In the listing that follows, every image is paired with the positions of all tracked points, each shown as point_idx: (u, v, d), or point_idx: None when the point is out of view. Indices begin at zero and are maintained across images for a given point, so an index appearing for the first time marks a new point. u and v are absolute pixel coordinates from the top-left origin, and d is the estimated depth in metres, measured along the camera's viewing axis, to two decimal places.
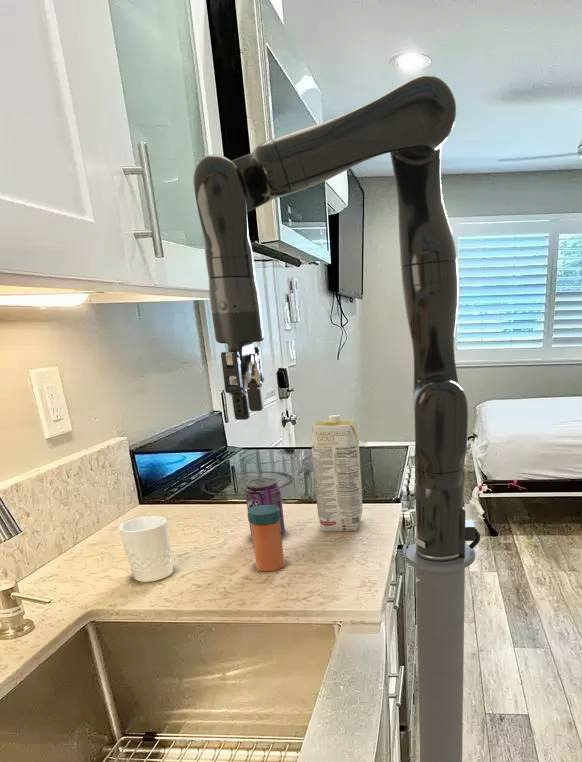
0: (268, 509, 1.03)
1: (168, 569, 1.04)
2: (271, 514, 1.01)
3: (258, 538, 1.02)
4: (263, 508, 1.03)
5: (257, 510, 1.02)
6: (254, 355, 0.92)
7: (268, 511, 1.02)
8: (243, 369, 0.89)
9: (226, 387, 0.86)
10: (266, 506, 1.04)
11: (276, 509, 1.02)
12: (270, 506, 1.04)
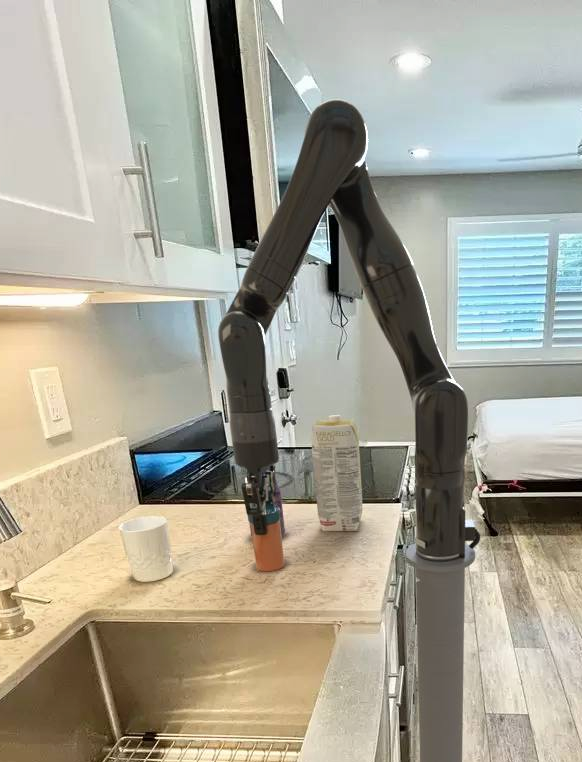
0: (268, 509, 1.03)
1: (168, 569, 1.04)
2: (271, 514, 1.01)
3: (258, 538, 1.02)
4: None
5: None
6: (270, 472, 1.01)
7: (268, 511, 1.02)
8: (260, 489, 0.98)
9: (247, 512, 0.97)
10: (266, 506, 1.04)
11: (276, 509, 1.02)
12: (270, 506, 1.04)
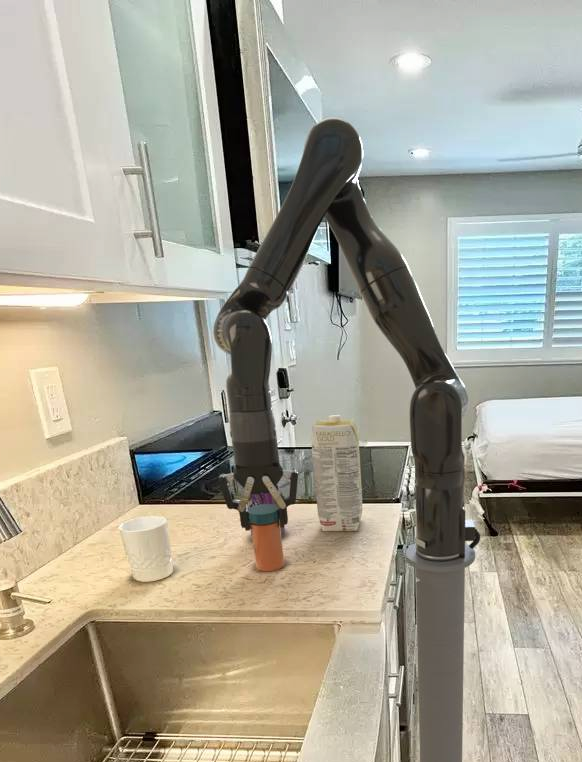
0: (263, 507, 1.03)
1: (168, 569, 1.04)
2: None
3: (258, 538, 1.02)
4: (259, 509, 1.02)
5: (265, 510, 1.01)
6: None
7: (270, 506, 1.03)
8: None
9: (295, 499, 1.01)
10: (253, 509, 1.02)
11: (264, 504, 1.04)
12: (254, 508, 1.03)
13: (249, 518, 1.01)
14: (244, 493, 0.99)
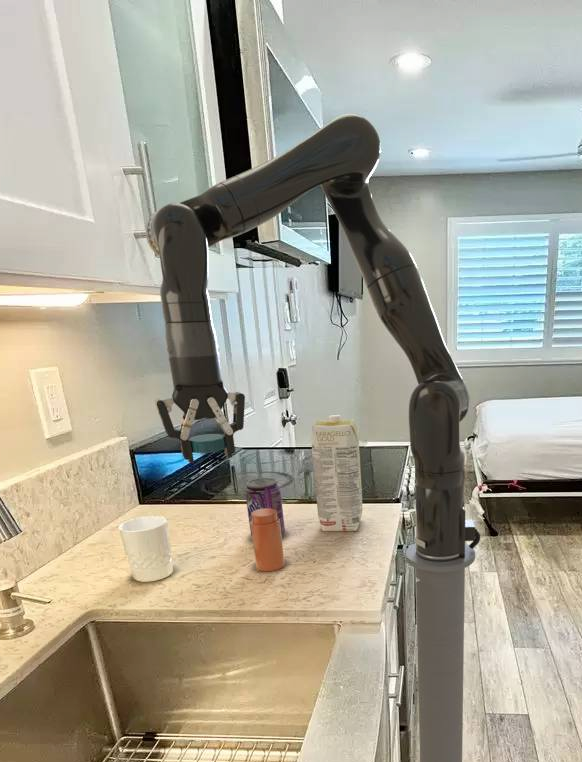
0: (205, 436, 0.95)
1: (168, 569, 1.04)
2: None
3: (258, 538, 1.02)
4: (203, 438, 0.93)
5: (210, 438, 0.93)
6: None
7: (212, 435, 0.95)
8: None
9: None
10: (195, 438, 0.93)
11: (204, 434, 0.96)
12: (195, 437, 0.94)
13: (194, 447, 0.92)
14: (188, 418, 0.90)
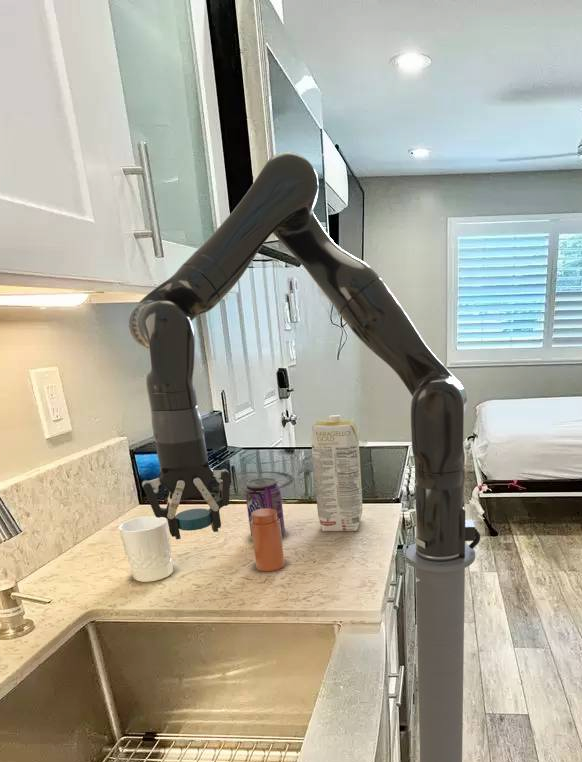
0: (192, 512, 0.97)
1: (168, 569, 1.04)
2: None
3: (258, 538, 1.02)
4: (189, 515, 0.96)
5: (197, 515, 0.95)
6: None
7: (198, 510, 0.98)
8: None
9: (228, 500, 0.97)
10: (182, 515, 0.95)
11: (191, 509, 0.98)
12: (182, 514, 0.96)
13: (180, 525, 0.94)
14: (174, 498, 0.92)
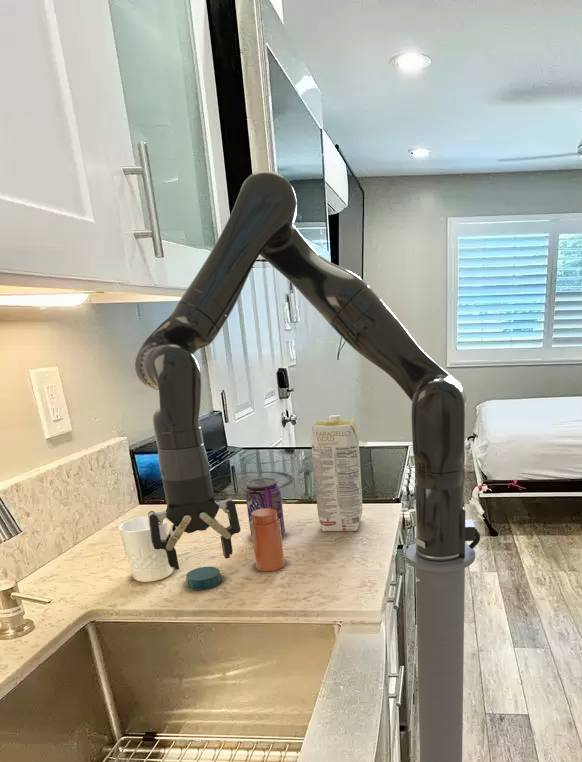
0: (202, 571, 1.01)
1: (168, 569, 1.04)
2: None
3: (258, 538, 1.02)
4: (199, 574, 1.00)
5: (206, 574, 0.99)
6: None
7: (208, 569, 1.01)
8: None
9: (239, 527, 0.99)
10: (192, 575, 0.99)
11: (200, 568, 1.02)
12: (192, 573, 1.00)
13: (190, 584, 0.98)
14: (177, 531, 0.94)
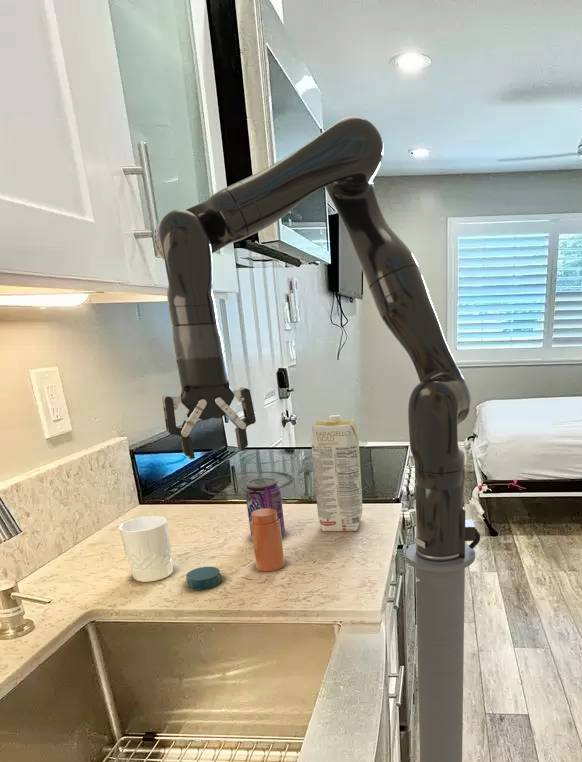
0: (202, 571, 1.01)
1: (168, 569, 1.04)
2: None
3: (258, 538, 1.02)
4: (199, 574, 1.00)
5: (206, 574, 0.99)
6: None
7: (208, 569, 1.01)
8: None
9: None
10: (192, 575, 0.99)
11: (200, 568, 1.02)
12: (192, 573, 1.00)
13: (190, 584, 0.98)
14: (192, 416, 0.92)
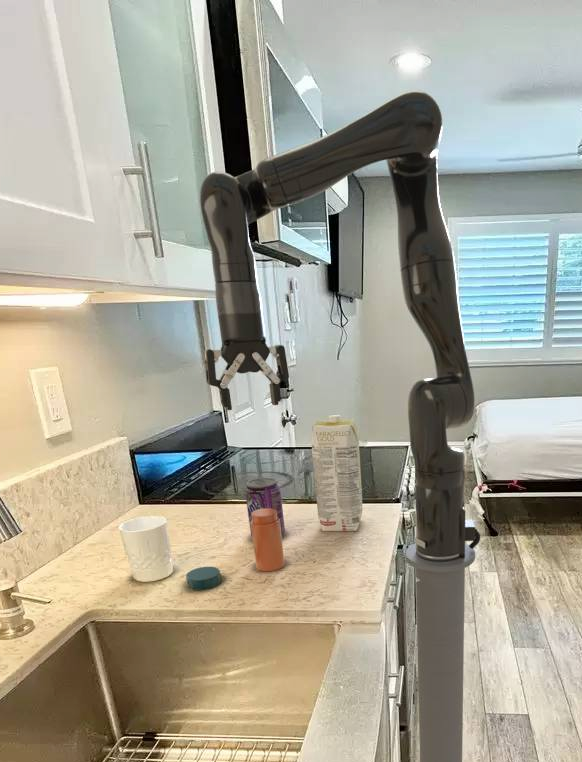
0: (202, 571, 1.01)
1: (168, 569, 1.04)
2: None
3: (258, 538, 1.02)
4: (199, 574, 1.00)
5: (206, 574, 0.99)
6: None
7: (208, 569, 1.01)
8: None
9: (288, 374, 1.04)
10: (192, 575, 0.99)
11: (200, 568, 1.02)
12: (192, 573, 1.00)
13: (190, 584, 0.98)
14: (231, 369, 0.98)
